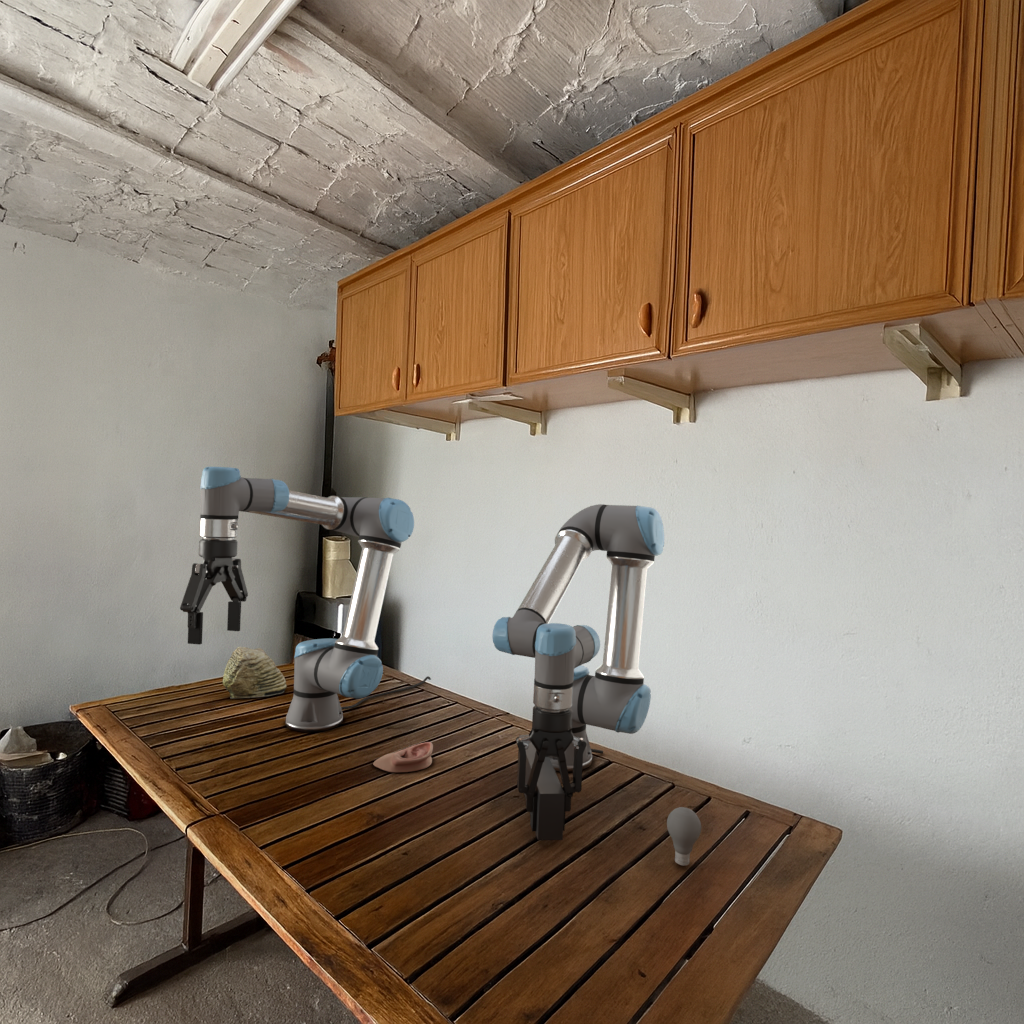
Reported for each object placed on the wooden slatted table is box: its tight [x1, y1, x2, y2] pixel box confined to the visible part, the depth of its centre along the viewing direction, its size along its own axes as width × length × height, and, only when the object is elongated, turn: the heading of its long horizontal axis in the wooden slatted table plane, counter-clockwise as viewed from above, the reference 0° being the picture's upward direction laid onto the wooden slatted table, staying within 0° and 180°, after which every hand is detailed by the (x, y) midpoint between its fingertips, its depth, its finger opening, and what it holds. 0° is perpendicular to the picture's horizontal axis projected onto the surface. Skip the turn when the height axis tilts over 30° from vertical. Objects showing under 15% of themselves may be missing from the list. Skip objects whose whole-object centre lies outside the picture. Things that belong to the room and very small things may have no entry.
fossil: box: [222, 646, 288, 699], centre depth 198 cm, size 9×18×15 cm, turn 132°
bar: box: [518, 734, 565, 841], centre depth 132 cm, size 29×5×9 cm, turn 7°
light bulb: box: [666, 806, 702, 867], centre depth 114 cm, size 6×6×10 cm
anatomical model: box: [372, 741, 434, 773], centre depth 152 cm, size 13×4×12 cm
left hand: (215, 637), depth 137 cm, fingers open, 13 cm apart
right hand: (547, 827), depth 121 cm, fingers closed on bar, 5 cm apart
